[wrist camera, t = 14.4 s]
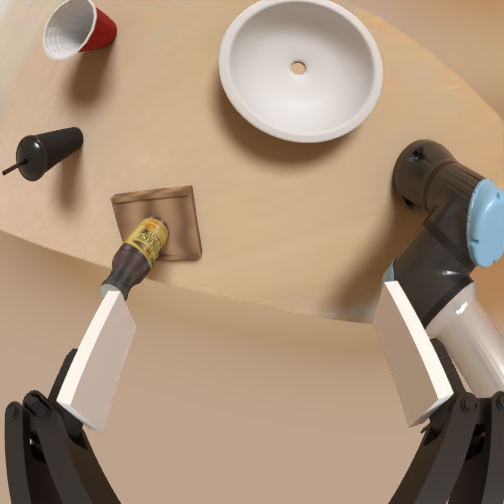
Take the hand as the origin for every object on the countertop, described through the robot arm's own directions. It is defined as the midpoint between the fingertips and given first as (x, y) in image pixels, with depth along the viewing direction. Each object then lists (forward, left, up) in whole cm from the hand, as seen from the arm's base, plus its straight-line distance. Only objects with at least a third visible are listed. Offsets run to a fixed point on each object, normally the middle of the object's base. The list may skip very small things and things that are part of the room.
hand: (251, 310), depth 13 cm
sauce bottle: (+19, +13, -35) cm, 42 cm away
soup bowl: (-8, -14, -37) cm, 40 cm away
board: (+19, +13, -37) cm, 43 cm away
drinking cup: (+34, -7, -37) cm, 51 cm away
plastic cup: (+25, -26, -37) cm, 52 cm away
